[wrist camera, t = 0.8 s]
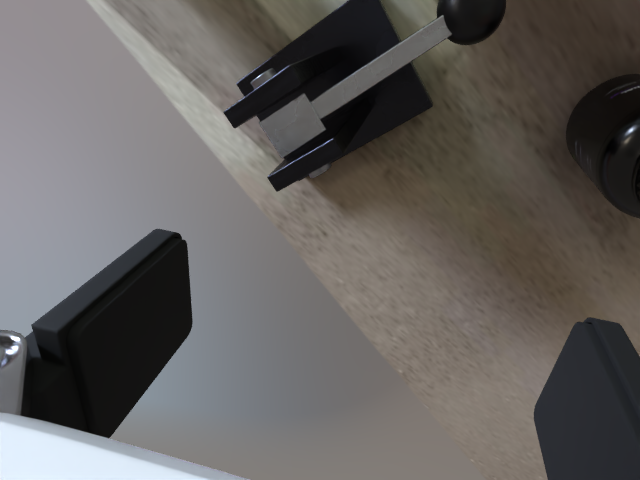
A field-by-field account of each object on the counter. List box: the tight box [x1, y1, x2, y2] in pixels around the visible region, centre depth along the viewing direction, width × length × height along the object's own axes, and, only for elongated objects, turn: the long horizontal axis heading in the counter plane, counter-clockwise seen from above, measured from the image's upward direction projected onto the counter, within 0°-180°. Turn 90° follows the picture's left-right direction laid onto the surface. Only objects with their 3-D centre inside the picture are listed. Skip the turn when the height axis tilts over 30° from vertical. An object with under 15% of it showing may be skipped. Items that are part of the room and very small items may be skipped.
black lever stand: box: [224, 0, 433, 191], centre depth 28 cm, size 12×9×13 cm
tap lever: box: [259, 0, 506, 158], centre depth 23 cm, size 14×3×3 cm, turn 123°
